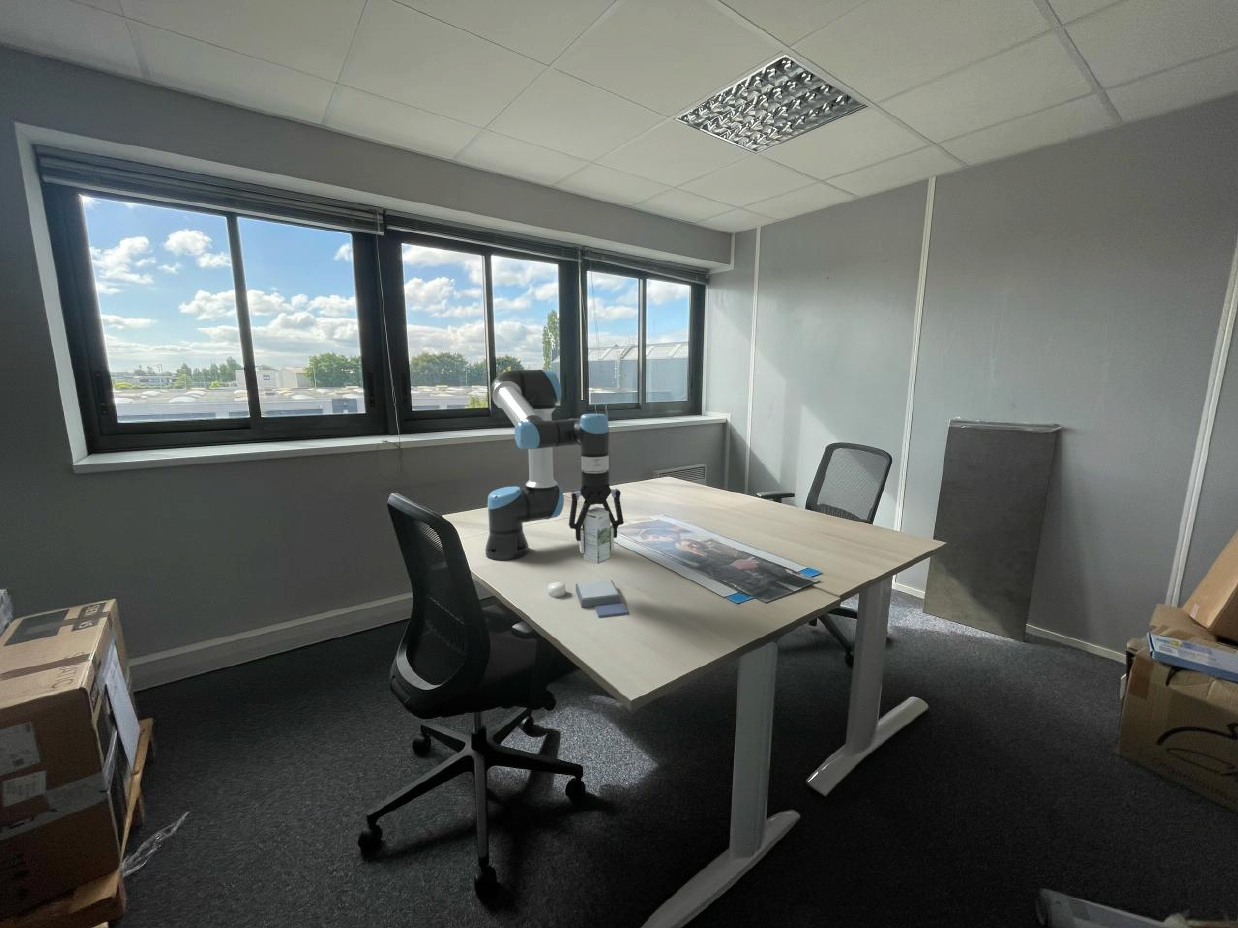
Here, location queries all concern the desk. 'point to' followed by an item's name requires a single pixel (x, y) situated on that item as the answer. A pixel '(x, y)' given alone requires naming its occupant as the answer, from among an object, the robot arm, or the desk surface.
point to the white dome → (556, 589)
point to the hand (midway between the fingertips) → (596, 550)
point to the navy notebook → (611, 610)
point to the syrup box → (597, 535)
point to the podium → (597, 593)
